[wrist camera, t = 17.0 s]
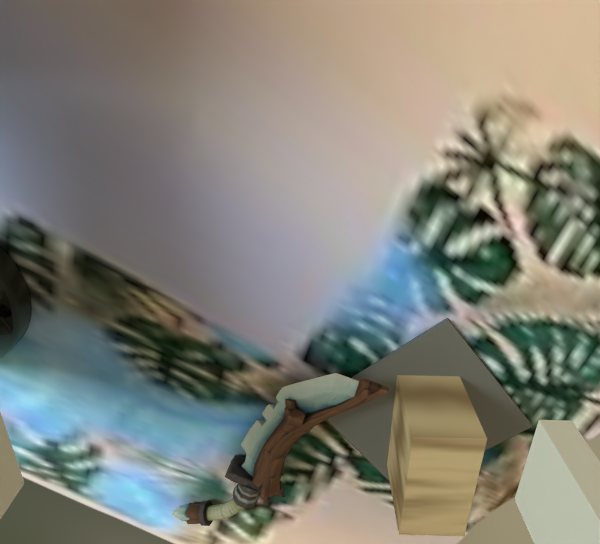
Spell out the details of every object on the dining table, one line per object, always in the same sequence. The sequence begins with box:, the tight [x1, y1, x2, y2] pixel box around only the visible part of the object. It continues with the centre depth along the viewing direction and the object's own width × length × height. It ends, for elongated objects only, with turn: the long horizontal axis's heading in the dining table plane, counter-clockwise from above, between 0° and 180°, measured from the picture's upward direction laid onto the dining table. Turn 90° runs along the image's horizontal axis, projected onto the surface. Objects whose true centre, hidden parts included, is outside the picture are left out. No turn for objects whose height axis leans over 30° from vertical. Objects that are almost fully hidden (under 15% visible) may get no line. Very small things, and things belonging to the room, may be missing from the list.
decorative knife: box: [172, 373, 389, 526], centre depth 48 cm, size 4×9×30 cm
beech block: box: [387, 375, 487, 536], centre depth 44 cm, size 8×6×12 cm
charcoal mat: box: [326, 318, 533, 481], centre depth 48 cm, size 16×16×1 cm
